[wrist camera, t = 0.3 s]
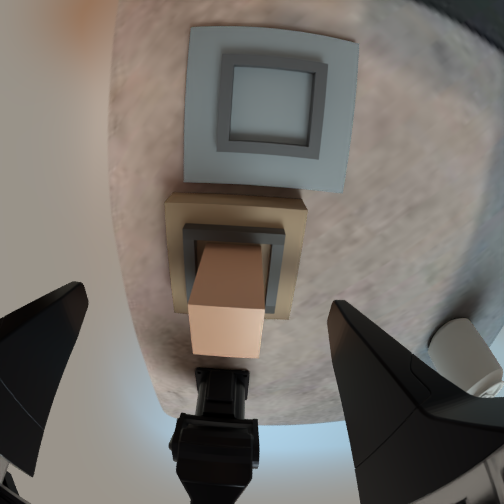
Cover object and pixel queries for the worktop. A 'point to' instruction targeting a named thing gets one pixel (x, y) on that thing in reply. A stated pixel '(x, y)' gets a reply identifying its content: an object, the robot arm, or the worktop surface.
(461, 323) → the can
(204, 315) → the plug
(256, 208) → the beige square socket
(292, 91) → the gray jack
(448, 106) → the worktop surface
